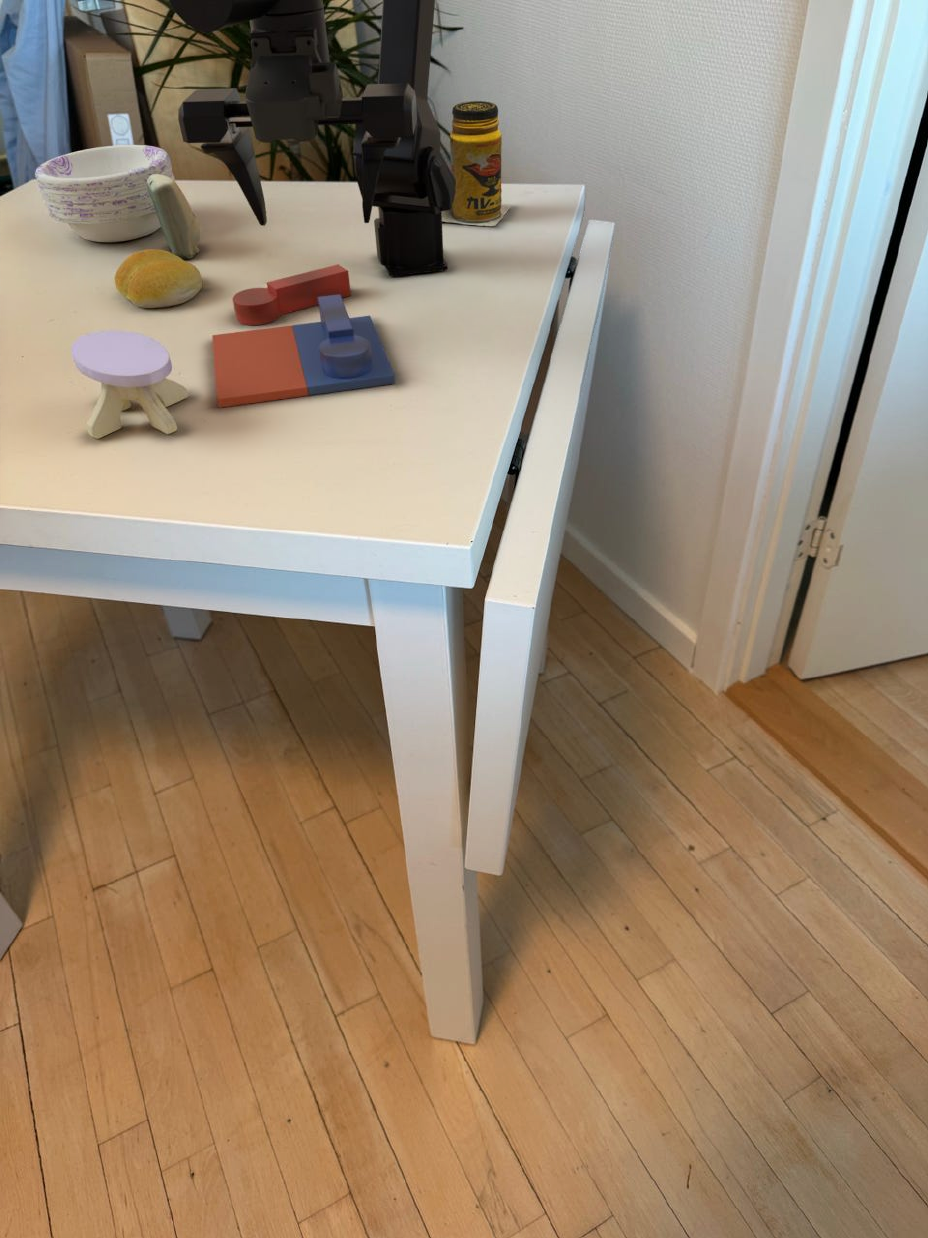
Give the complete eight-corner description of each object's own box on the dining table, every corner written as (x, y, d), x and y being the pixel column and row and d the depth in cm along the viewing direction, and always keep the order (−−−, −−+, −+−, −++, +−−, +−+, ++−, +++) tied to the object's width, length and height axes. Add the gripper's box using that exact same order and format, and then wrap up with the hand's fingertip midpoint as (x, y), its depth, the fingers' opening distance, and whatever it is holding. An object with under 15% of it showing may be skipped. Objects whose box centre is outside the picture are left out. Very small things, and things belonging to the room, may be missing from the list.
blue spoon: (309, 325, 83) (305, 297, 81) (355, 319, 84) (352, 292, 82) (325, 381, 74) (321, 352, 72) (376, 374, 75) (373, 346, 73)
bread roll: (146, 317, 87) (135, 277, 84) (109, 292, 92) (97, 253, 90) (220, 294, 91) (211, 255, 88) (180, 271, 96) (171, 233, 93)
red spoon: (336, 285, 92) (333, 260, 90) (356, 298, 89) (353, 273, 87) (229, 314, 87) (224, 288, 85) (247, 329, 84) (241, 302, 83)
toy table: (66, 411, 73) (42, 346, 69) (167, 378, 77) (150, 315, 73) (109, 459, 67) (86, 390, 63) (216, 420, 71) (200, 354, 67)
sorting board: (370, 323, 85) (370, 315, 84) (395, 383, 75) (394, 374, 75) (213, 342, 82) (212, 334, 82) (218, 407, 73) (216, 399, 72)
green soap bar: (145, 255, 100) (125, 180, 95) (179, 241, 103) (161, 167, 98) (181, 263, 98) (163, 187, 92) (214, 248, 101) (198, 174, 96)
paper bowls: (52, 221, 110) (29, 152, 105) (174, 203, 114) (158, 136, 109) (61, 261, 99) (36, 186, 94) (195, 239, 104) (178, 166, 98)
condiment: (495, 227, 104) (495, 113, 96) (428, 221, 106) (422, 110, 98) (511, 208, 109) (512, 98, 101) (447, 203, 111) (443, 95, 103)
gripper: (133, 32, 61) (187, 259, 71) (399, 23, 60) (415, 254, 71) (175, 6, 69) (218, 213, 80) (410, -1, 68) (422, 208, 79)
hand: (315, 222), depth 77 cm, fingers open, 9 cm apart
